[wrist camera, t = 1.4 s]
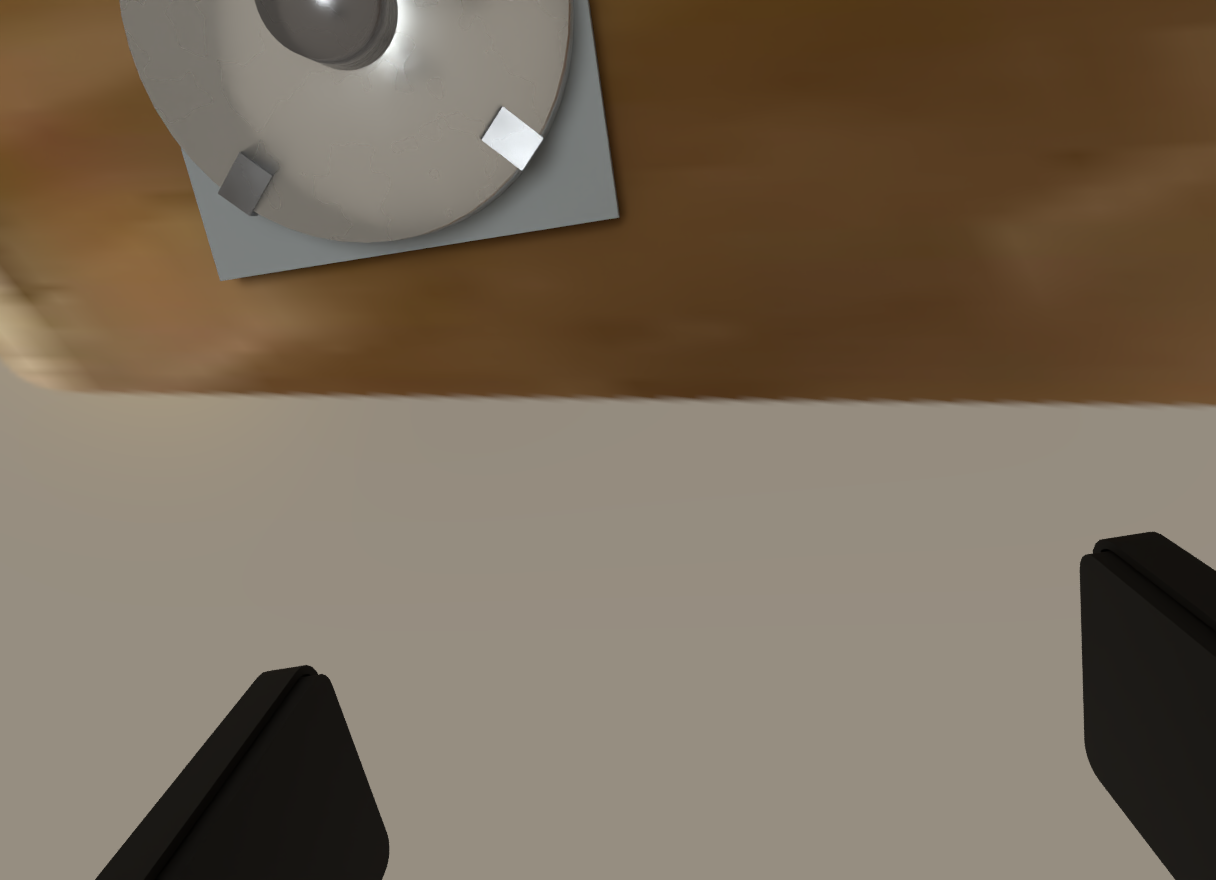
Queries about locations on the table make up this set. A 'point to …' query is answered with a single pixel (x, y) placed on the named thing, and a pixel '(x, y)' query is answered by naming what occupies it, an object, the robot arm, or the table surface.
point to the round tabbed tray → (355, 103)
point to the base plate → (538, 199)
